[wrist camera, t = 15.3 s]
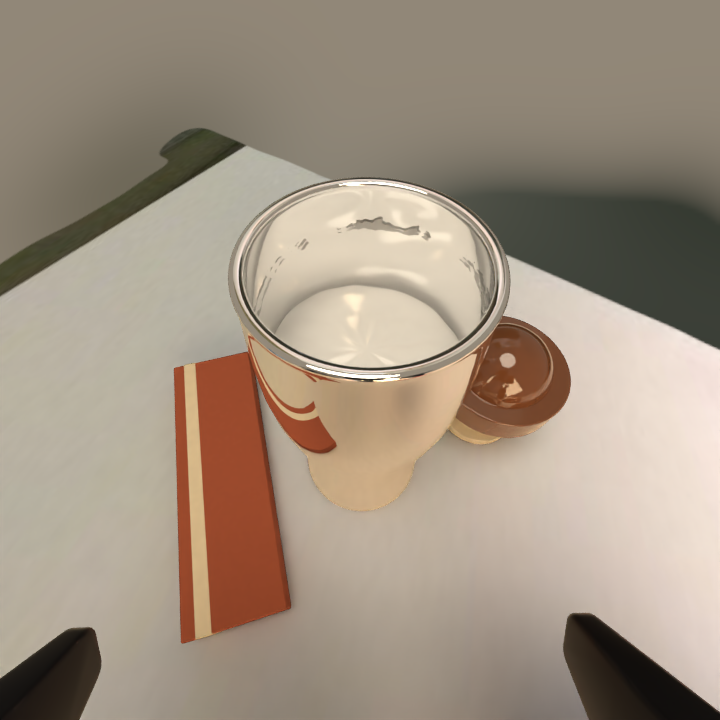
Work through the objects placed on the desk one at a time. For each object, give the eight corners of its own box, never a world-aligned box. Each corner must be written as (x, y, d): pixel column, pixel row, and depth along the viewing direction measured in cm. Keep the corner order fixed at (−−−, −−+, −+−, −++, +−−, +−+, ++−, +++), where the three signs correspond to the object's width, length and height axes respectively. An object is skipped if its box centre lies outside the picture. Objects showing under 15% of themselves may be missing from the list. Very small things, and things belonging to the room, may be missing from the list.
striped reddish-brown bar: (253, 363, 25) (247, 350, 23) (291, 608, 18) (286, 609, 16) (183, 379, 24) (173, 367, 23) (193, 641, 17) (179, 645, 16)
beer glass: (389, 546, 19) (457, 456, 6) (276, 480, 21) (148, 303, 8) (440, 432, 22) (553, 220, 10) (339, 383, 24) (320, 146, 11)
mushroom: (538, 390, 24) (602, 319, 18) (512, 481, 21) (578, 434, 15) (444, 351, 25) (472, 273, 19) (406, 431, 22) (426, 369, 16)
